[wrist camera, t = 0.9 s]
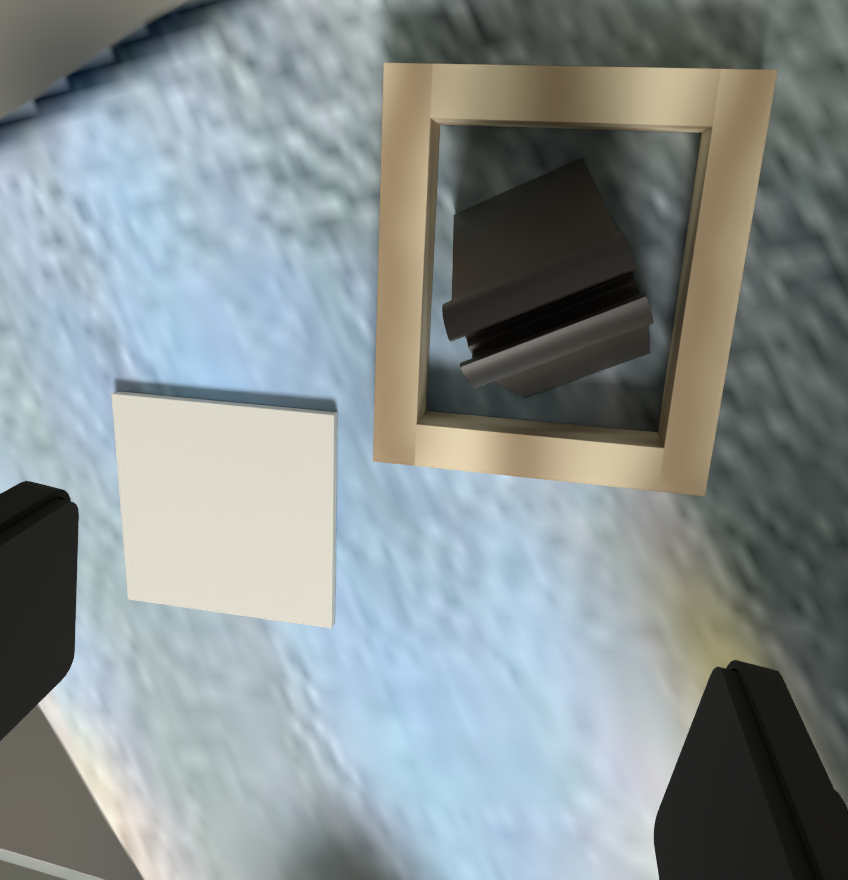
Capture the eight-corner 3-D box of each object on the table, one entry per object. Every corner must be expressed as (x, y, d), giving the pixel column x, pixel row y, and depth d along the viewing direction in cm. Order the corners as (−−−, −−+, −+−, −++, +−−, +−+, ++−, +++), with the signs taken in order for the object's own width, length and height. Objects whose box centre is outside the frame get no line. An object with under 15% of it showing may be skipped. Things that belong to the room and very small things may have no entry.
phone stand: (454, 213, 34) (398, 214, 23) (583, 158, 32) (591, 129, 21) (524, 396, 36) (504, 482, 24) (649, 352, 34) (689, 422, 23)
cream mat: (337, 412, 38) (333, 415, 37) (335, 622, 41) (331, 628, 41) (118, 391, 40) (111, 394, 39) (133, 594, 43) (128, 599, 43)
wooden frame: (761, 80, 30) (777, 69, 28) (695, 477, 35) (704, 496, 33) (397, 73, 33) (383, 62, 30) (385, 445, 38) (373, 461, 35)
